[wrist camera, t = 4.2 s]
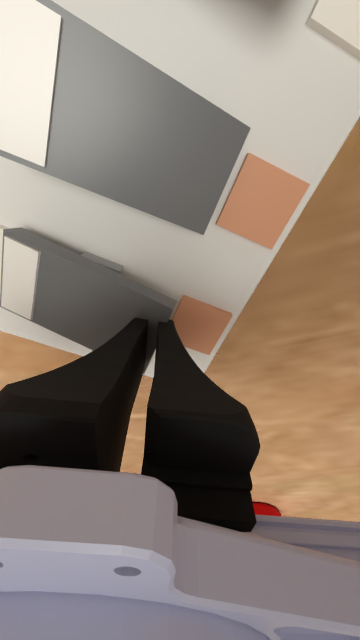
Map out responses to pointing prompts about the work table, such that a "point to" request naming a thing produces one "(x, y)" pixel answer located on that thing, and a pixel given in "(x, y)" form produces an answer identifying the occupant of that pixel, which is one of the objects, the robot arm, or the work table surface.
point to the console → (248, 172)
